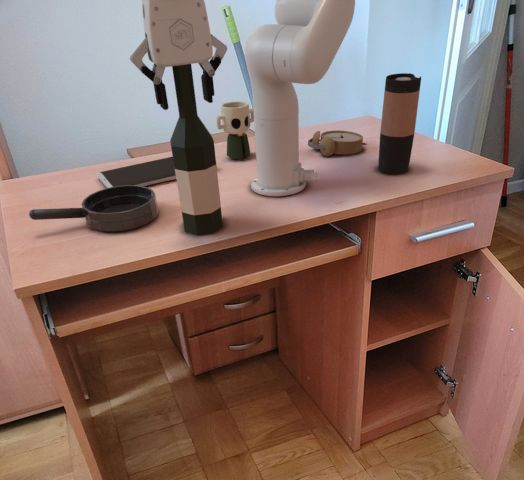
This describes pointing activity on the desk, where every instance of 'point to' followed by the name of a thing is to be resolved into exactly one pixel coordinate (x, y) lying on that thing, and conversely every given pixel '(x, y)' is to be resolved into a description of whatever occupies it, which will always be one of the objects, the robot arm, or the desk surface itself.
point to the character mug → (236, 127)
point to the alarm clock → (337, 142)
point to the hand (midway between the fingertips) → (186, 104)
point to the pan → (120, 208)
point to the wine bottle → (194, 161)
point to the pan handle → (56, 213)
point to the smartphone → (140, 173)
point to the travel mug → (398, 122)
